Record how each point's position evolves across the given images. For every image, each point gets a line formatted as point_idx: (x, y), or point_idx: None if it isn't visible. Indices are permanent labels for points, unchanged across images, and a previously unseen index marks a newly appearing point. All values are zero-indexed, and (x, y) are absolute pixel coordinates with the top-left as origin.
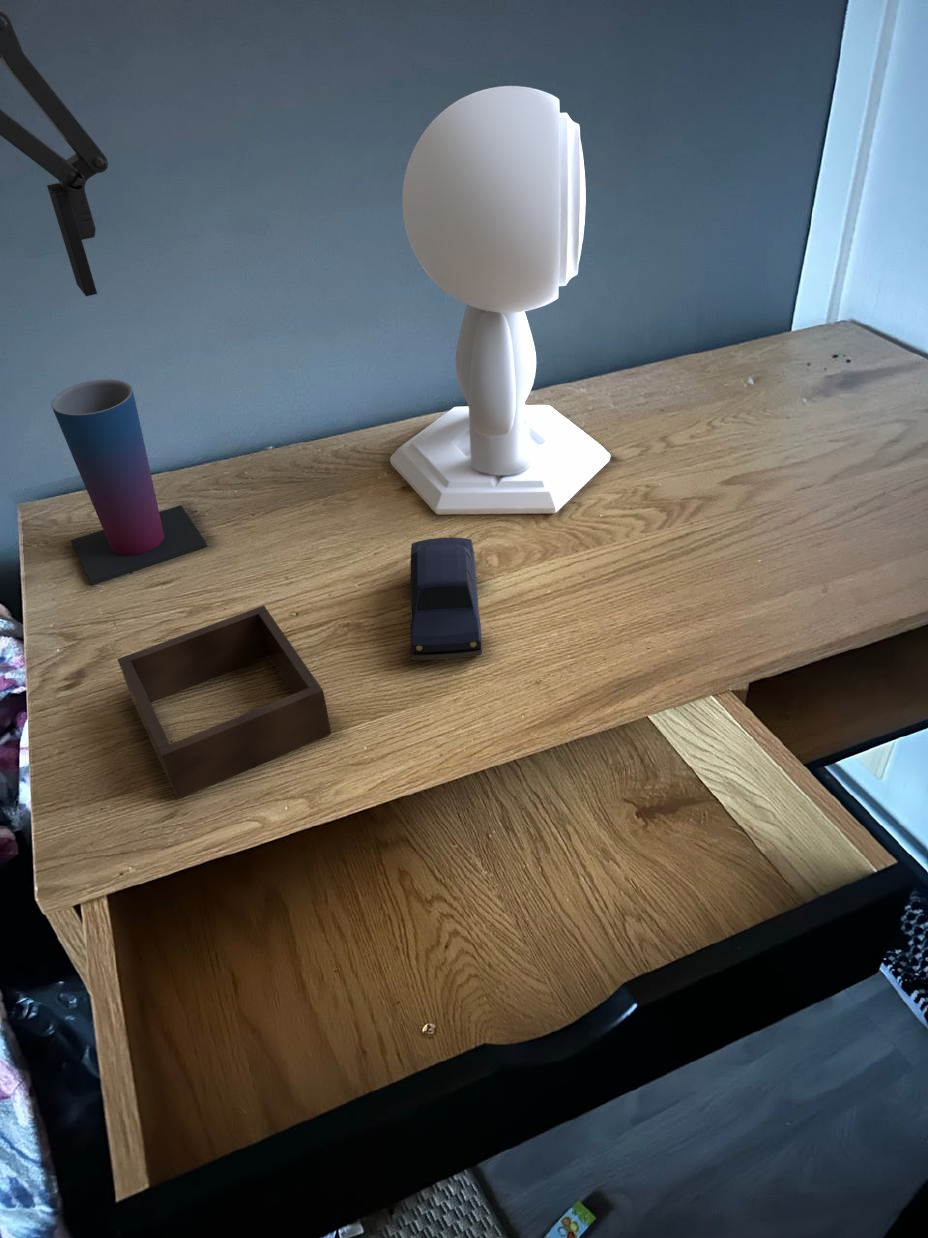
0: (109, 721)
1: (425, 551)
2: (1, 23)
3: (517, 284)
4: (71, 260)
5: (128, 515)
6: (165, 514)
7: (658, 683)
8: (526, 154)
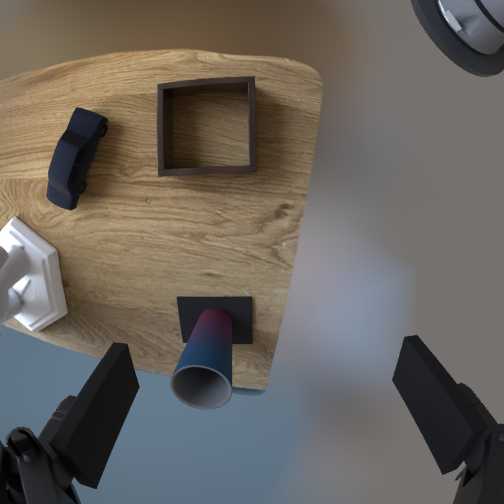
0: (272, 163)
1: (64, 178)
2: None
3: None
4: (123, 399)
5: (213, 321)
6: None
7: (41, 74)
8: None
